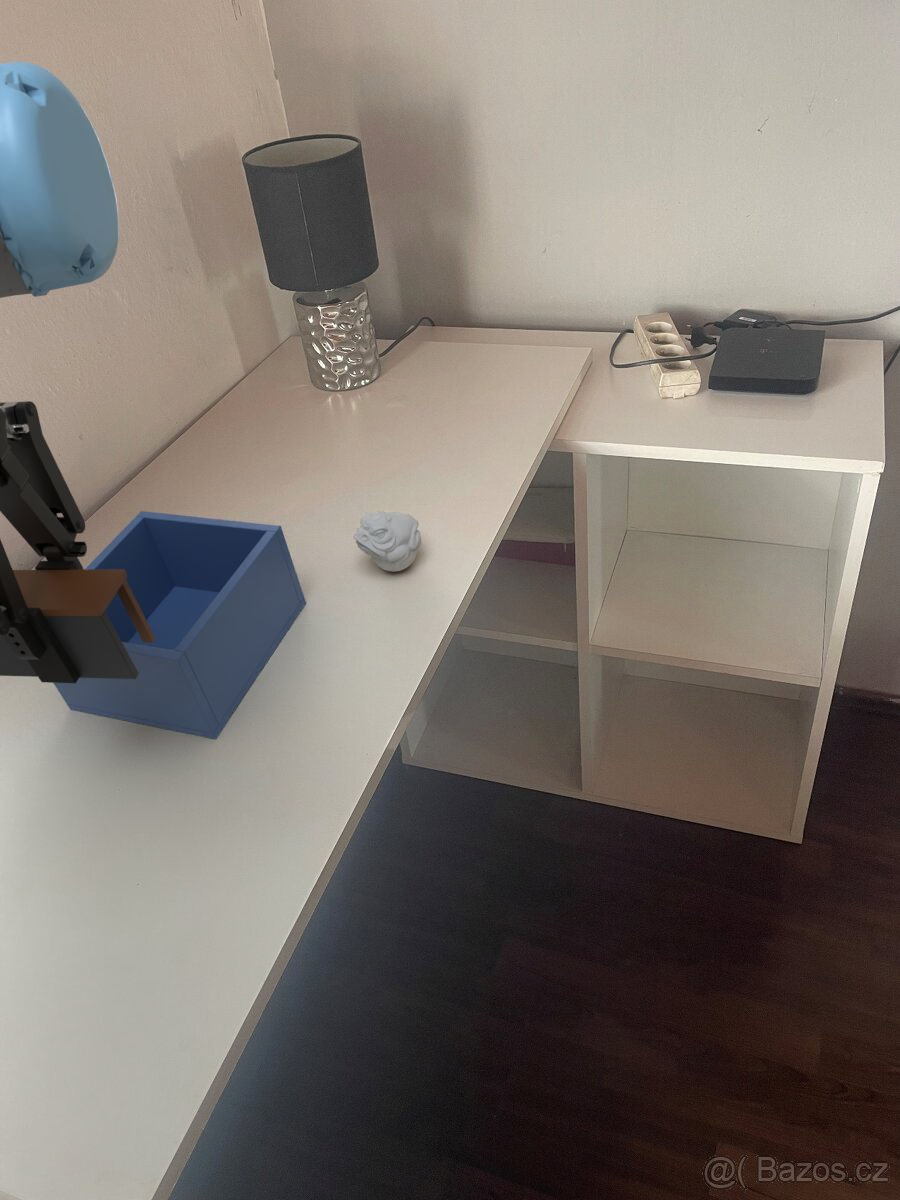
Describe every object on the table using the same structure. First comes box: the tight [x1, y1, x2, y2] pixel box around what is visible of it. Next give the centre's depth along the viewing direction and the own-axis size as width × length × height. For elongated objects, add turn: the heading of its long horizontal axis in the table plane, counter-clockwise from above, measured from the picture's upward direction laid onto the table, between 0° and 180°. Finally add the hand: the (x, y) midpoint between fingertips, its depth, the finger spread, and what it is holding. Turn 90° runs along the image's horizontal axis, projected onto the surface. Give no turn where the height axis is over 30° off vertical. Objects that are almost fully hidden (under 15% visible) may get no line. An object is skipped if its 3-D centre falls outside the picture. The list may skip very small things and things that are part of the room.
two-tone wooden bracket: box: [0, 569, 155, 679], centre depth 61 cm, size 4×11×7 cm, turn 80°
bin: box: [53, 510, 307, 740], centre depth 81 cm, size 18×16×10 cm
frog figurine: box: [352, 510, 422, 572], centre depth 88 cm, size 6×7×7 cm
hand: (76, 653), depth 63 cm, fingers closed on two-tone wooden bracket, 4 cm apart
